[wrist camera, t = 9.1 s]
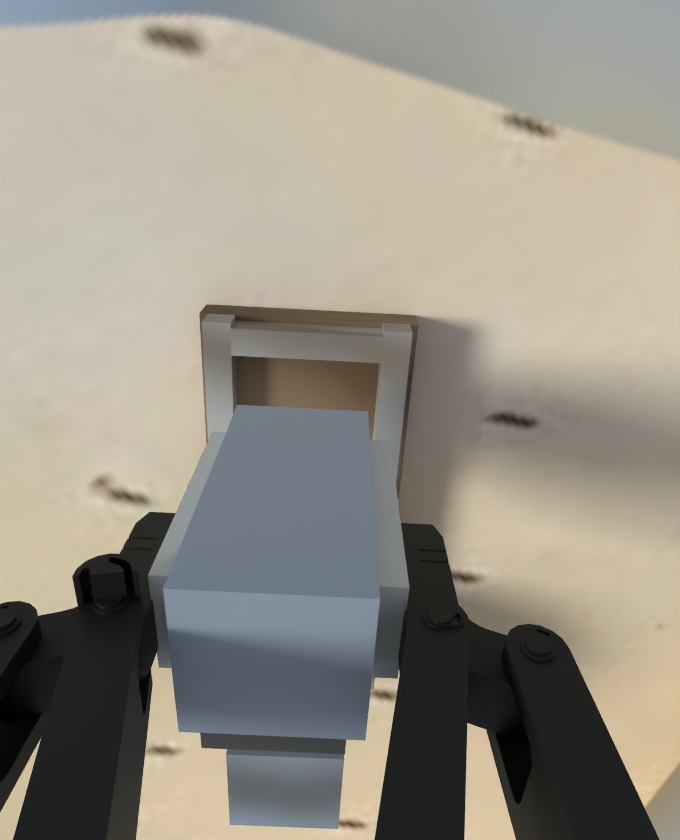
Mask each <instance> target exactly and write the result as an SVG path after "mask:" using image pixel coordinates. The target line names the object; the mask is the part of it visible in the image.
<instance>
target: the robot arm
mask: <svg viewBox="0 0 680 840" xmlns="http://www.w3.org/2000/svg"><path fill="white" fill-rule="evenodd" d="M225 434H226V432H213V431H212V433H211V436H210V438H209V440H208V442H207V445H206V447H205V449H204V451H203V453H202V456H201V458H200V460H199V462H198V465H197V467H196V469H195V471H194V474H193V476H192V478H191V480H190V482H189V485H188V487H187V489H186V491H185V494H184V496H183V498H182V500H181V503H180V505H179V507H178V509H177V511H176V513H160V512H149V513H148V514H147V515H146V516H144V517H143V518H142V519H141V520H139V521H138V522H137V523H136V524H135V526H134V528H133V530H132V532H131V534H130V535H129V539H127V541H126V543H125V545H124V547H123V549H122V550H121V552H120V554H106V555H101V556H97V557H94V558H92V559H90V560H88V561H86V562H85V563H83V564H82V565H81V566H79V567H78V568H77V570H76V571H75V573H74V574H73V576H72V577H73V582H74V587H75V593H76V598H77V603H78V607H75V608H73V609H69V610H66V611H62V612H56V613H51V614H46V615H40V616H38V614H37V610H36V609H35V608H34V607H33V606H32V605H31V604H29V603H25V602H21V601H15V602H5V603H2V604H0V812H1V810H2V808H3V806H4V804H5V803H6V801H7V799H8V797H9V795H10V793H11V792H12V790H13V788H14V786H15V784H16V782H17V781H18V779H19V777H20V775H21V773H22V771H23V770H24V768H25V766H26V764H27V762H28V760H29V759H30V757H31V755H32V753H33V751H34V749H35V748H36V746H37V744H38V742H39V740H40V738H41V741H40V745H39V748H38V752H37V755H36V759H35V763H34V766H33V770H32V773H31V777H30V781H29V784H28V788H27V791H26V795H25V799H24V802H23V806H22V809H21V813H20V817H19V820H18V824H17V827H16V831H15V835H14V838H13V840H136V832H137V823H138V813H139V804H140V795H141V786H142V776H143V767H144V758H145V748H146V739H147V730H148V720H149V711H150V702H151V692H152V676H151V666H152V664H153V661H154V658H155V655H156V653H157V656H158V664H159V667H162V668H172V666H171V657H170V648H169V639H168V630H167V621H166V612H165V602H164V593H163V587H164V585H165V583H166V580H167V578H168V575H169V573H170V570H171V568H172V565H173V563H174V560H175V558H176V555H177V553H178V550H179V548H180V545H181V543H182V540H183V538H184V535H185V533H186V530H187V528H188V526H189V523H190V521H191V518H192V516H193V513H194V511H195V508H196V506H197V503H198V501H199V498H200V496H201V493H202V491H203V488H204V486H205V483H206V481H207V478H208V476H209V473H210V471H211V469H212V466H213V464H214V461H215V459H216V456H217V454H218V451H219V449H220V446H221V444H222V441H223V439H224V436H225ZM370 451H371V466H372V482H373V497H374V513H375V528H376V544H377V560H378V575H379V591H380V604H379V614H378V623H377V633H376V642H375V652H374V661H373V671H372V677H378V678H397V677H398V669H399V671H400V677H399V684H398V690H397V697H396V704H395V710H394V717H393V723H392V730H391V736H390V743H389V749H388V756H387V762H386V769H385V775H384V782H383V788H382V795H381V802H380V808H379V815H378V821H377V828H376V834H375V840H464V826H465V787H466V748H467V723H470V724H472V725H475V726H478V727H481V728H484V729H487V734H488V738H489V741H490V745H491V749H492V752H493V756H494V760H495V763H496V767H497V771H498V775H499V778H500V782H501V786H502V789H503V793H504V797H505V800H506V804H507V808H508V812H509V815H510V819H511V823H512V826H513V830H514V834H515V837H516V840H659V838H658V836H657V834H656V831H655V829H654V827H653V825H652V823H651V821H650V819H649V817H648V815H647V813H646V810H645V808H644V806H643V804H642V802H641V800H640V798H639V795H638V793H637V791H636V789H635V787H634V785H633V783H632V781H631V778H630V776H629V774H628V772H627V770H626V768H625V766H624V764H623V762H622V759H621V757H620V755H619V753H618V751H617V749H616V747H615V745H614V742H613V740H612V738H611V736H610V734H609V732H608V730H607V728H606V725H605V723H604V721H603V719H602V717H601V715H600V713H599V711H598V708H597V706H596V704H595V702H594V700H593V698H592V696H591V694H590V692H589V689H588V687H587V685H586V683H585V681H584V679H583V677H582V675H581V672H580V670H579V668H578V666H577V664H576V662H575V660H574V658H573V655H572V653H571V651H570V649H569V647H568V646H567V645H566V643H565V642H564V640H563V639H562V638H561V637H559V636H558V635H557V634H555V633H554V632H553V631H551V630H549V629H546V628H544V627H542V626H538V625H532V624H525V625H518V626H516V627H514V628H513V629H511V630H510V631H509V633H508V635H504V634H500V633H497V632H494V631H490V630H488V629H485V628H482V627H480V626H478V625H477V624H475V623H473V622H472V621H471V620H470V619H468V615H467V614H466V613H465V612H464V610H463V609H462V608H461V607H460V606H459V604H458V601H457V597H456V592H455V588H454V584H453V579H452V575H451V571H450V566H449V564H448V558H447V553H446V549H445V545H444V540H443V537H442V536H441V534H440V533H439V532H438V531H437V530H436V528H435V527H434V526H433V525H427V524H407V523H401V520H400V513H399V505H398V498H397V490H396V483H395V475H394V468H393V460H392V452H391V445H390V441H388V440H370Z"/></svg>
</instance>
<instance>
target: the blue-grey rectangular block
mask: <svg viewBox="0 0 680 840" xmlns="http://www.w3.org/2000/svg"><path fill="white" fill-rule="evenodd" d="M163 593H164V602H165V612H166V621H167V630H168V639H169V648H170V657H171V666H172V675H173V684H174V693H175V702H176V711H177V720H178V729H179V732H196V733H200V734H201V746H202V748H216V749H238V750H260V751H282V752H304V753H326V754H345V745H346V739H348V740H365V738H366V728H367V719H368V709H369V699H370V690H371V680H372V671H373V661H374V652H375V642H376V633H377V623H378V614H379V604H380V591H379V575H378V560H377V544H376V528H375V513H374V497H373V482H372V466H371V451H370V435H369V419H368V411H351V410H331V409H311V408H292V407H272V406H253V405H237V407H236V409H235V412H234V414H233V416H232V419H231V421H230V424H229V426H228V429H227V431H226V434H225V436H224V439H223V441H222V444H221V446H220V449H219V451H218V454H217V456H216V459H215V461H214V464H213V466H212V469H211V471H210V473H209V476H208V478H207V481H206V483H205V486H204V488H203V491H202V493H201V496H200V498H199V501H198V503H197V506H196V508H195V511H194V513H193V516H192V518H191V521H190V523H189V526H188V528H187V530H186V533H185V535H184V538H183V540H182V543H181V545H180V548H179V550H178V553H177V555H176V558H175V560H174V563H173V565H172V568H171V570H170V573H169V575H168V578H167V580H166V583H165V585H164V587H163Z"/></svg>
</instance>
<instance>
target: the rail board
mask: <svg viewBox="0 0 680 840" xmlns="http://www.w3.org/2000/svg"><path fill="white" fill-rule="evenodd" d="M417 330H418V323H417V321H416V318H415V316H411V315H392V314H373V313H354V312H335V311H316V310H298V309H279V308H260V307H241V306H222V305H206V306H205V307H204V308H203V310H202V311H201V312H200V331H201V350H202V368H203V386H204V405H205V423H206V442H208V440H209V438H210V436H211V433H212V431H213V432H226V431H227V429H228V426H229V424H230V421H231V419H232V416H233V414H234V412H235V409H236V407H237V405H253V406H272V407H292V408H311V409H331V410H351V411H368V419H369V435H370V440H388V441H390V445H391V452H392V460H393V468H394V475H395V483H396V490H397V498H398V497H399V488H400V479H401V471H402V462H403V453H404V444H405V435H406V427H407V418H408V409H409V400H410V391H411V382H412V374H413V365H414V356H415V347H416V338H417ZM374 680H375V677H372V680H371V689H374ZM226 756H227V776H228V795H229V815H230V825H251V826H277V827H302V828H328V829H338V823H339V811H340V799H341V787H342V775H343V764H344V754H326V753H304V752H282V751H260V750H238V749H227V754H226Z"/></svg>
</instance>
